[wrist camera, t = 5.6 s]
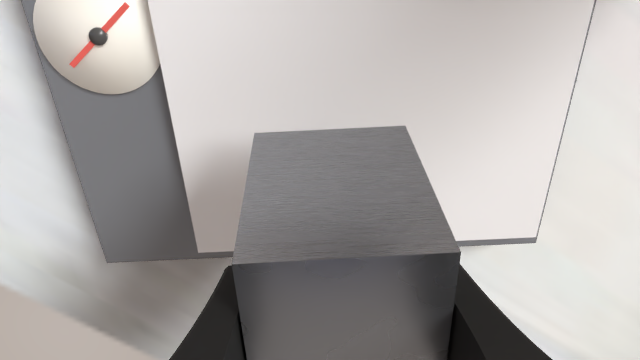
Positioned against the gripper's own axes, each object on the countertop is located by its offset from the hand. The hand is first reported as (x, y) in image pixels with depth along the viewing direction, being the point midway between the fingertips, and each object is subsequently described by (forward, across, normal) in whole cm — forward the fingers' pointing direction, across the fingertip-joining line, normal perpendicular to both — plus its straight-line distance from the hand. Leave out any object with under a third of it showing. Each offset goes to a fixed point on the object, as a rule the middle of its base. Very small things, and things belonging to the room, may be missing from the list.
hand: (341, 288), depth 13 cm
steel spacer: (+4, 0, -1) cm, 4 cm away
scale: (+10, 0, -2) cm, 11 cm away
